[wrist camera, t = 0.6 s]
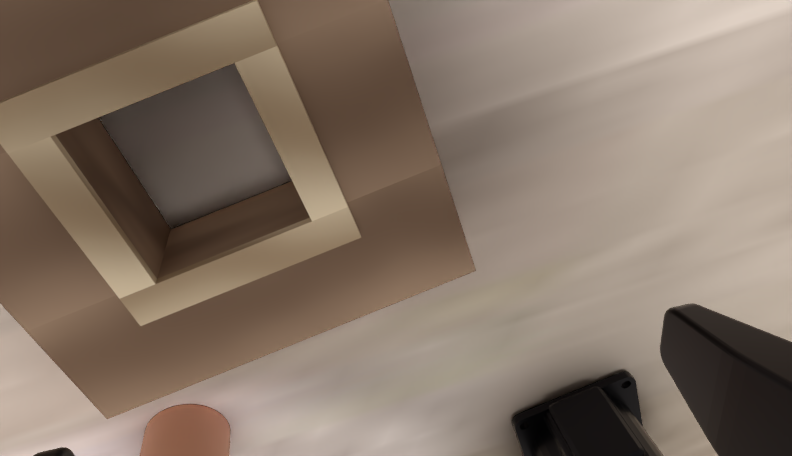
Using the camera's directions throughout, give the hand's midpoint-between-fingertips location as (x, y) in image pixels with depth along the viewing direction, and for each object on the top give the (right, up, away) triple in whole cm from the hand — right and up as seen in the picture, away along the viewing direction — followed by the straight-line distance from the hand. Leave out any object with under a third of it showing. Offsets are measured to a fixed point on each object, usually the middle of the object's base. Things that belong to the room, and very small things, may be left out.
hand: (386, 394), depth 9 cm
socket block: (-6, +5, +11) cm, 14 cm away
